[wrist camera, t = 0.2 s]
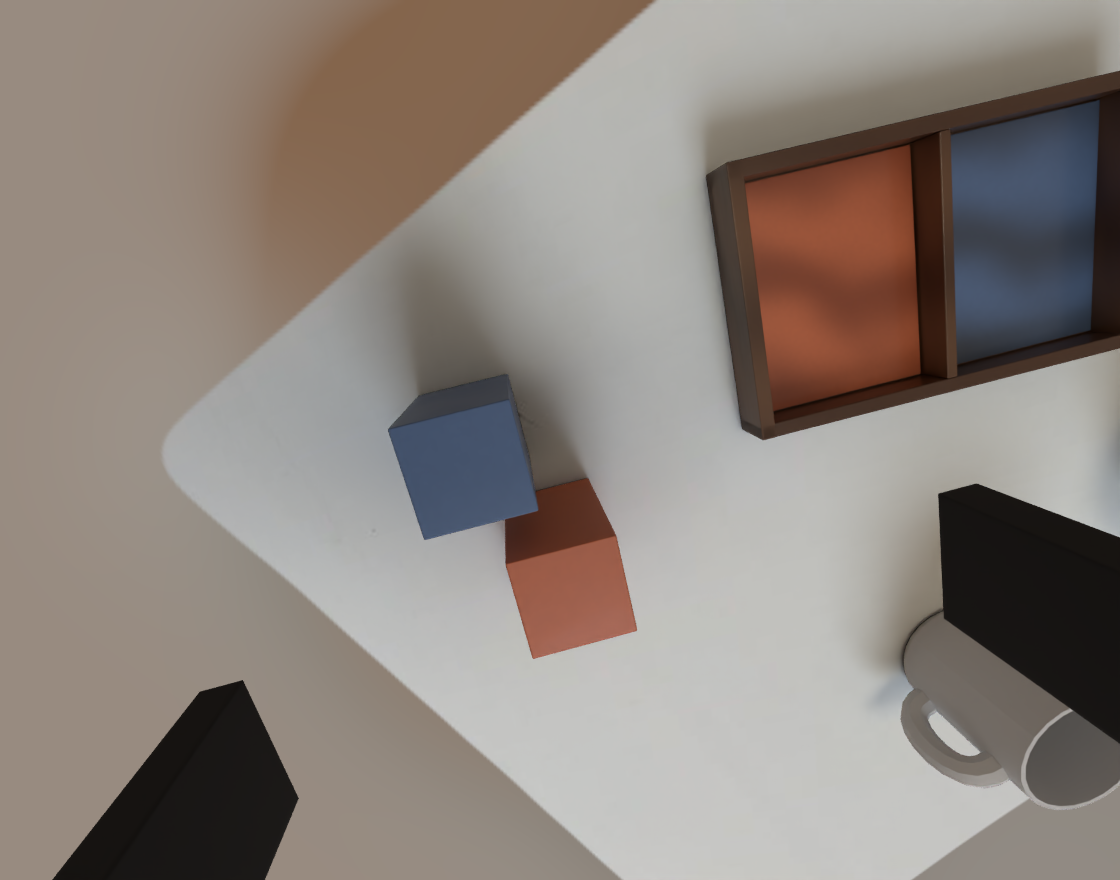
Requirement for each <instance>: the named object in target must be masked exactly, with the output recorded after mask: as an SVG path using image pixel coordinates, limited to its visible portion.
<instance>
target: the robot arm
mask: <svg viewBox="0 0 1120 880" xmlns="http://www.w3.org/2000/svg"><path fill="white" fill-rule="evenodd" d="M938 498H939V520H940V543H941V565H942V588H943V610H944V619H945V620H946V621H948V622H949V623H951V624H952V625H953V626H955V627H956V628H958V629H959V630H960V631H962V632H963V633H965V634H966V635H967V636H969V637H970V638H972V639H973V640H974V641H976V642H977V643H979V644H980V645H982V646H983V647H984V648H986V649H987V650H989V651H990V652H991V653H993V654H994V655H996V656H997V657H998V658H1000V659H1001V660H1003V661H1004V662H1005V663H1007V664H1008V665H1010V666H1011V667H1012V668H1014V669H1015V670H1017V671H1018V672H1019V673H1021V674H1022V675H1024V676H1025V677H1026V678H1028V679H1029V680H1031V681H1032V682H1033V683H1035V684H1036V685H1038V686H1039V687H1041V688H1042V689H1043V690H1045V691H1046V692H1048V693H1049V694H1050V695H1052V696H1053V697H1055V698H1056V699H1057V700H1059V701H1060V702H1062V703H1063V704H1064V705H1066V706H1067V707H1069V708H1070V709H1071V710H1073V711H1074V712H1076V713H1077V714H1078V715H1080V716H1081V717H1083V718H1084V719H1085V720H1087V721H1088V722H1090V723H1091V724H1092V725H1094V726H1095V727H1097V728H1098V729H1099V730H1101V731H1102V732H1104V733H1105V734H1107V735H1108V736H1109V737H1111V738H1112V739H1114V740H1115V741H1116V742H1118V743H1119V744H1120V537H1117V536H1114V535H1112V534H1109V533H1106V532H1104V531H1101V530H1098V529H1096V528H1093V527H1090V526H1088V525H1085V524H1082V523H1080V522H1077V521H1075V520H1072V519H1069V518H1067V517H1064V516H1061V515H1059V514H1056V513H1053V512H1051V511H1048V510H1045V509H1043V508H1040V507H1037V506H1035V505H1032V504H1029V503H1027V502H1024V501H1022V500H1019V499H1016V498H1014V497H1011V496H1008V495H1006V494H1003V493H1000V492H998V491H995V490H992V489H990V488H987V487H984V486H982V485H979V484H973V485H969V486H966V487H962V488H958V489H954V490H951V491H947V492H943V493H939V494H938ZM298 799H299V798H298V796H297V794H296V792H295V790H294V787H293V785H292V783H291V781H290V779H289V777H288V775H287V773H286V771H285V768H284V766H283V764H282V762H281V760H280V758H279V756H278V754H277V751H276V749H275V747H274V745H273V743H272V741H271V739H270V737H269V735H268V732H267V730H266V728H265V726H264V724H263V722H262V720H261V718H260V715H259V713H258V711H257V709H256V707H255V705H254V703H253V701H252V699H251V696H250V694H249V692H248V690H247V688H246V686H245V684H244V682H243V680H242V681H238V682H234V683H231V684H227V685H223V686H219V687H216V688H212V689H209V690H205V691H201V692H199V693H198V695H197V696H196V697H195V699H194V700H193V701H192V702H191V704H190V705H189V706H188V707H187V709H186V710H185V712H184V713H183V714H182V715H181V717H180V718H179V719H178V720H177V722H176V723H175V724H174V726H173V727H172V728H171V729H170V730H169V732H168V733H167V734H166V736H165V737H164V738H163V739H162V741H161V742H160V743H159V744H158V746H157V747H156V748H155V750H154V751H153V752H152V754H151V755H150V756H149V757H148V758H147V760H146V761H145V762H144V764H143V765H142V766H141V768H140V769H139V770H138V771H137V772H136V774H135V775H134V776H133V778H132V779H131V780H130V781H129V783H128V784H127V785H126V787H125V788H124V789H123V790H122V792H121V793H120V794H119V796H118V797H117V798H116V799H115V801H114V802H113V803H112V804H111V806H110V807H109V808H108V810H107V811H106V812H105V813H104V815H103V816H102V817H101V818H100V820H99V821H98V822H97V824H96V825H95V826H94V827H93V829H92V830H91V831H90V832H89V834H88V835H87V836H86V837H85V839H84V840H83V841H82V843H81V844H80V845H79V847H78V848H77V849H76V850H75V852H74V853H73V854H72V855H71V857H70V858H69V859H68V860H67V862H66V863H65V864H64V866H63V867H62V868H61V870H60V871H59V872H58V873H57V874H56V876H55V877H54V879H53V880H265V878H266V876H267V873H268V871H269V868H270V866H271V864H272V861H273V859H274V857H275V854H276V852H277V849H278V847H279V844H280V842H281V840H282V837H283V835H284V832H285V830H286V828H287V825H288V823H289V820H290V818H291V816H292V813H293V811H294V808H295V806H296V803H297V801H298Z"/></svg>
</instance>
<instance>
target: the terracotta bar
mask: <svg viewBox="0 0 1120 880" xmlns="http://www.w3.org/2000/svg"><path fill="white" fill-rule="evenodd" d="M535 492H536V497H537V503H538V511H535V512H531V513H528V514H524V515H520V516H516V517H512V518H508V519H505V555H506V568H507V571H508V575H509V578H510V582H511V585H512V589H513V592H514V596H515V599H516V602H517V606H518V609H519V613H520V616H521V620H522V623H523V627H524V630H525V634H526V637H527V641H528V644H529V647H530V651H531V654H532V658H533V659H535V658H538V657H542V656H546V655H549V654H553V653H557V652H560V651H564V650H568V649H572V648H575V647H579V646H583V645H586V644H590V643H594V642H597V641H601V640H605V639H608V638H612V637H616V636H620V635H623V634H627V633H631V632H634V631H637V627H636V622H635V618H634V613H633V609H632V604H631V600H630V595H629V591H628V586H627V582H626V577H625V573H624V568H623V564H622V559H621V555H620V550H619V546H618V541H617V537H616V534H615V532H614V530H613V528H612V526H611V524H610V522H609V520H608V518H607V516H606V514H605V512H604V510H603V508H602V506H601V504H600V502H599V500H598V498H597V496H596V493H595V491H594V489H593V487H592V485H591V483H590V481H589V479H588V478H586V479H582V480H578V481H574V482H570V483H566V484H562V485H559V486H555V487H551V488H547V489H543V490H539V491H535Z"/></svg>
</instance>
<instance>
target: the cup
mask: <svg viewBox="0 0 1120 880" xmlns="http://www.w3.org/2000/svg"><path fill="white" fill-rule="evenodd" d="M904 670H905V674H906V677H907V679H908V682H909V683H910V685H911V686H912V687H913V688H914V690H913V691H912V692H910V693H909V694H908V695H907V697H906V698H905V700H904V701H903V704H902V711H901V719H900V720H901V723H902V726H903V729H904V733H905V735H906V736H907V738H908V740H909V741H910V743H911V744H912V746H913V747H914V749H915V750H916V751H917V752H918V753H919V754H920V755H921V756H922V757H923V758H924V759H925V761H926V762H928V763H929V764H930V765H931V766H933V767H934V768H935V769H937V770H938V771H939V772H941V773H942V774H943V775H946V776H948V777H950V778H952V779H954V780H956V781H958V782H960V783H962V784H964V785H968V786H974V787H980V788H989V787H994V786H999V785H1001V784H1003V783H1005V782H1007V781H1009V780H1010V781H1012V782H1013V783H1014V784H1015V785H1016V786H1017V787H1018V788H1019V789H1020V790H1021V791H1023V792H1024V793H1025V794H1026V795H1027V796H1028V797H1029V798H1030V799H1031V800H1032V801H1033V802H1035V803H1037V804H1039V805H1040V806H1042V807H1044V808H1049V809H1055V810H1067V809H1075V808H1078V807H1082V806H1085V805H1089V804H1091V803H1093V802H1095V801H1097V800H1099V799H1101V798H1103V797H1105V796H1106V795H1107V794H1109V793H1110V792H1112V791H1113V790H1114V789H1116V788H1117V787H1118V786H1119V785H1120V744H1119V743H1118V742H1116V741H1115V740H1114V739H1112V738H1111V737H1109V736H1108V735H1107V734H1105V733H1104V732H1102V731H1101V730H1099V729H1098V728H1097V727H1095V726H1094V725H1092V724H1091V723H1090V722H1088V721H1087V720H1085V719H1084V718H1083V717H1081V716H1080V715H1078V714H1077V713H1076V712H1074V711H1073V710H1071V709H1070V708H1069V707H1067V706H1066V705H1064V704H1063V703H1062V702H1060V701H1059V700H1057V699H1056V698H1055V697H1053V696H1052V695H1050V694H1049V693H1048V692H1046V691H1045V690H1043V689H1042V688H1041V687H1039V686H1038V685H1036V684H1035V683H1033V682H1032V681H1031V680H1029V679H1028V678H1026V677H1025V676H1024V675H1022V674H1021V673H1019V672H1018V671H1017V670H1015V669H1014V668H1012V667H1011V666H1010V665H1008V664H1007V663H1005V662H1004V661H1003V660H1001V659H1000V658H998V657H997V656H996V655H994V654H993V653H991V652H990V651H989V650H987V649H986V648H984V647H983V646H982V645H980V644H979V643H977V642H976V641H974V640H973V639H972V638H970V637H969V636H967V635H966V634H965V633H963V632H962V631H960V630H959V629H958V628H956V627H955V626H953V625H952V624H951V623H949V622H948V621H946V620H945V619H944V611H942V612H940V613H938V614H936V615H934V616H932V617H930V618H929V619H927V620H926V621H925V622H924V623H923V624H921V625H920V626H919V627H918V628H917V630H916V631H915V632H914V633H913V635H912V636H911V638H910V640H909V642H908V644H907V646H906V649H905V653H904ZM935 712H938V713H939V714H941V715H942V716H943V717H944V718H945V719H946V720H947V721H948V722H949V723H950V724H951V725H952V726H953V727H954V728H955V729H956V730H957V731H958V732H960V733H961V734H962V735H963V736H964V737H965V738H966V739H967V740H968V741H969V742H970V743H971V744H972V745H973V746H974V747H976V748H977V749H978V750H979V751H980V752H981V753H979V754H978V755H975V756H965V755H961V754H959V753H957V752H955V751H954V750H953V749H951V748H950V747H949V746H947V745H946V744H945V743H944V742H943V741H942V740H941V739H940V738H939V737H938V736H937V734H936V733H935V732H934V730H933V729H932V728H931V726H930V724H929V721H928V719H929V717H930V716H931V715H933V714H934V713H935Z"/></svg>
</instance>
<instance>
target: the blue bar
mask: <svg viewBox="0 0 1120 880" xmlns="http://www.w3.org/2000/svg"><path fill="white" fill-rule="evenodd" d="M388 432H389V435H390V438H391V441H392V444H393V447H394V450H395V453H396V456H397V459H398V462H399V465H400V468H401V471H402V474H403V477H404V480H405V483H406V486H407V489H408V492H409V495H410V498H411V501H412V504H413V507H414V510H415V513H416V516H417V519H418V523H419V526H420V529H421V532H422V535H423V538H424V540H427V539H431V538H435V537H439V536H442V535H446V534H450V533H454V532H458V531H462V530H466V529H469V528H473V527H477V526H481V525H485V524H489V523H493V522H497V521H500V520H504V519H508V518H512V517H516V516H520V515H524V514H528V513H531V512H535V511H538V503H537V497H536V492H535V486H534V480H533V474H532V469H531V463H530V457H529V454H528V450H527V446H526V442H525V438H524V434H523V430H522V427H521V423H520V419H519V415H518V411H517V407H516V403H515V400H514V396H513V392H512V388H511V384H510V380H509V376H508V374H504V375H500V376H496V377H492V378H488V379H484V380H480V381H476V382H472V383H468V384H464V385H460V386H456V387H452V388H448V389H444V390H440V391H436V392H431V393H427V394H423V395H419V396H418V397H417V398H416V399H415V400H414V401H413V403H412V404H411V405H410V406H409V407H408V408H407V409H406V410H405V411H404V412H403V413H402V415H401V416H400V417H399V418H398V419H397V420H396V421H395V422H394V423H393V424H392V425H391V427H390V428H389V429H388Z"/></svg>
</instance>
